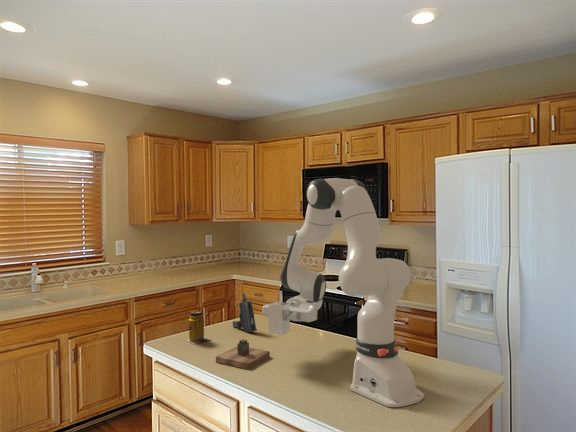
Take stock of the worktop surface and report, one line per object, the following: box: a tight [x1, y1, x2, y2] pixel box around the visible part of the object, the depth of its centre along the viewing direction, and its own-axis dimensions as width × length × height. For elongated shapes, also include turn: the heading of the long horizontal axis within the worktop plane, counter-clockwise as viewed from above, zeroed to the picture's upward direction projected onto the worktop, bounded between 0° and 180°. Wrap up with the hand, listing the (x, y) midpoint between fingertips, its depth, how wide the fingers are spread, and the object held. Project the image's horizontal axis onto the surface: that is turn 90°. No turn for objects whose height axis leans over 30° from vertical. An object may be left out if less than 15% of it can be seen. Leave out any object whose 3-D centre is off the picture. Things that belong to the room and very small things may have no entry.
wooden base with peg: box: [215, 338, 271, 370], centre depth 151 cm, size 14×14×7 cm
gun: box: [232, 293, 258, 333], centre depth 189 cm, size 3×17×15 cm
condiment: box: [186, 310, 212, 345], centre depth 174 cm, size 7×8×12 cm
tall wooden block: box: [268, 301, 291, 336], centre depth 146 cm, size 5×5×10 cm
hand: (277, 317), depth 145 cm, fingers closed on tall wooden block, 5 cm apart
